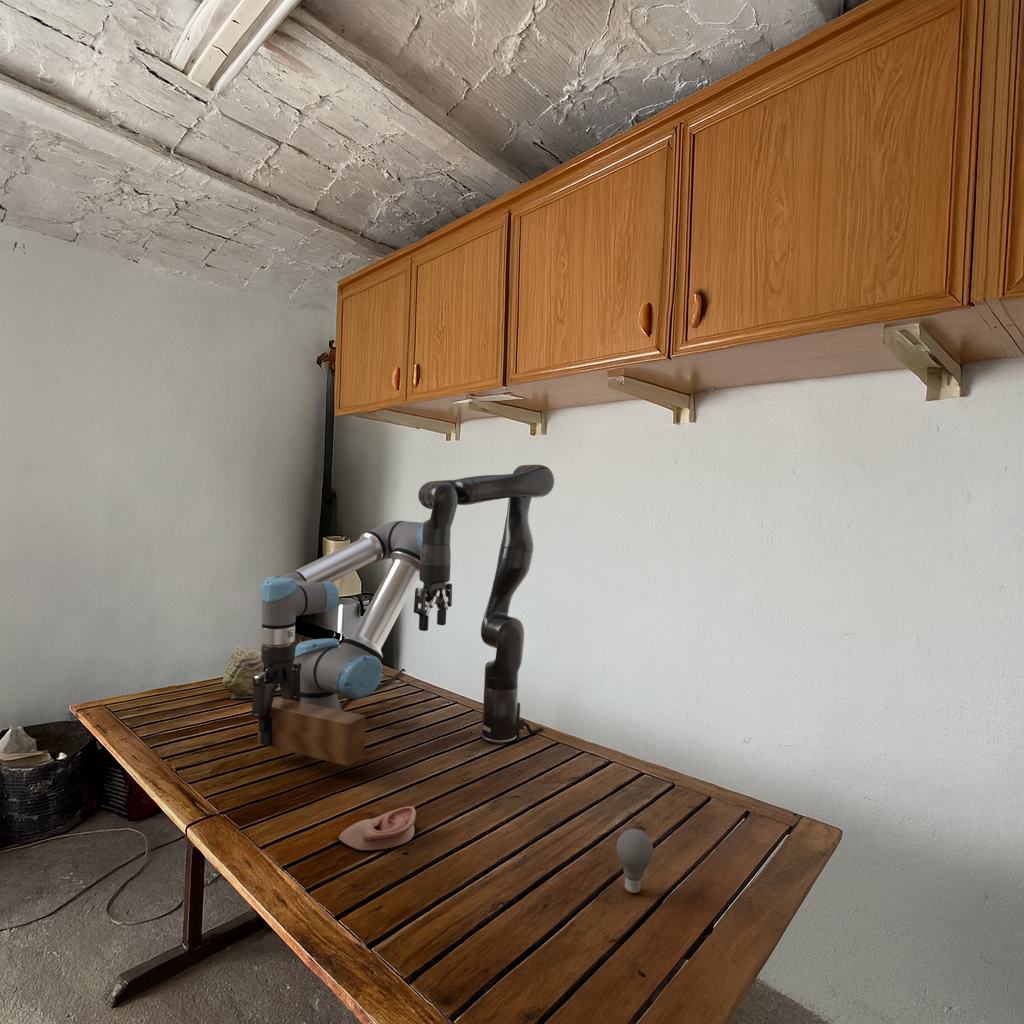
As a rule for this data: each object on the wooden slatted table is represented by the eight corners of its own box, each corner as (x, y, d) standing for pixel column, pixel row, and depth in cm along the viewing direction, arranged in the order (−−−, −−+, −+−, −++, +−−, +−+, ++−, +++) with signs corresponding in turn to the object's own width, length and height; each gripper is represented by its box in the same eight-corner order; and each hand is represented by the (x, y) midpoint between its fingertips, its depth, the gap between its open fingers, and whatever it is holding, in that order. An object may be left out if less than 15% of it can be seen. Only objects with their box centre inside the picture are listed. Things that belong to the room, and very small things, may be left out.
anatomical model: (331, 824, 115) (359, 795, 126) (330, 845, 115) (358, 815, 126) (400, 835, 112) (422, 805, 124) (399, 857, 112) (421, 825, 124)
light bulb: (610, 879, 108) (613, 822, 108) (644, 879, 109) (647, 822, 109) (619, 902, 102) (622, 840, 102) (655, 901, 103) (658, 840, 103)
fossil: (218, 695, 195) (220, 647, 195) (278, 685, 208) (279, 640, 207) (228, 703, 189) (230, 653, 188) (289, 692, 201) (290, 645, 201)
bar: (257, 743, 150) (257, 703, 150) (275, 734, 155) (276, 696, 155) (348, 766, 139) (348, 723, 139) (364, 756, 145) (365, 715, 144)
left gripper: (259, 654, 140) (257, 757, 141) (317, 637, 158) (316, 729, 159) (234, 650, 143) (233, 751, 144) (294, 633, 161) (292, 723, 162)
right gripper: (433, 565, 148) (430, 634, 148) (462, 561, 161) (459, 624, 161) (406, 563, 151) (403, 630, 151) (436, 559, 164) (434, 621, 164)
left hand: (276, 739), depth 151 cm, fingers closed on bar, 6 cm apart
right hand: (432, 627), depth 156 cm, fingers open, 8 cm apart
